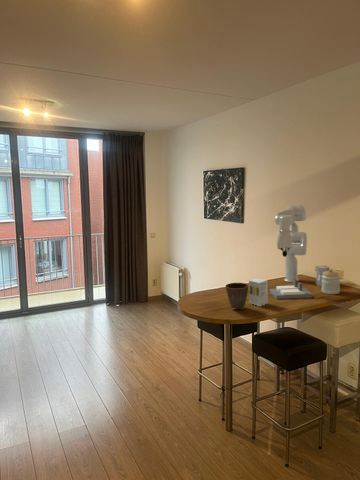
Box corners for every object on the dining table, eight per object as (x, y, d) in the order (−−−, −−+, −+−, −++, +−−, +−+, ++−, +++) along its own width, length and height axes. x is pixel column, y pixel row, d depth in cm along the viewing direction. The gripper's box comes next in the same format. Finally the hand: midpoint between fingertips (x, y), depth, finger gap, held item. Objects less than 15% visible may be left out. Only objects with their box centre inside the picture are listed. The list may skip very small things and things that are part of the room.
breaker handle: (297, 289, 263) (297, 282, 262) (300, 289, 263) (300, 282, 262) (299, 290, 259) (299, 283, 258) (302, 290, 259) (302, 283, 258)
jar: (323, 288, 277) (323, 266, 275) (341, 290, 270) (342, 268, 268) (319, 293, 267) (319, 269, 265) (337, 295, 259) (338, 271, 257)
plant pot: (233, 313, 230) (233, 289, 228) (222, 307, 244) (221, 284, 242) (253, 309, 236) (252, 286, 234) (240, 303, 250) (240, 281, 247)
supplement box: (248, 304, 249) (248, 280, 246) (256, 300, 255) (256, 277, 252) (260, 306, 241) (259, 282, 239) (268, 303, 247) (267, 280, 245)
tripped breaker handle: (293, 285, 272) (293, 279, 272) (295, 285, 272) (295, 279, 272) (295, 286, 268) (295, 280, 268) (297, 286, 269) (297, 280, 268)
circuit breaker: (336, 285, 284) (337, 267, 282) (318, 286, 285) (318, 267, 283) (333, 283, 292) (333, 265, 290) (315, 283, 292) (315, 265, 290)
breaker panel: (269, 292, 275) (269, 286, 274) (303, 290, 275) (303, 284, 275) (276, 298, 257) (276, 292, 256) (312, 297, 257) (312, 290, 257)
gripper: (292, 231, 274) (292, 255, 276) (273, 232, 274) (273, 256, 276) (296, 232, 266) (296, 256, 269) (276, 233, 266) (276, 257, 269)
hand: (284, 256), depth 272 cm, fingers closed
